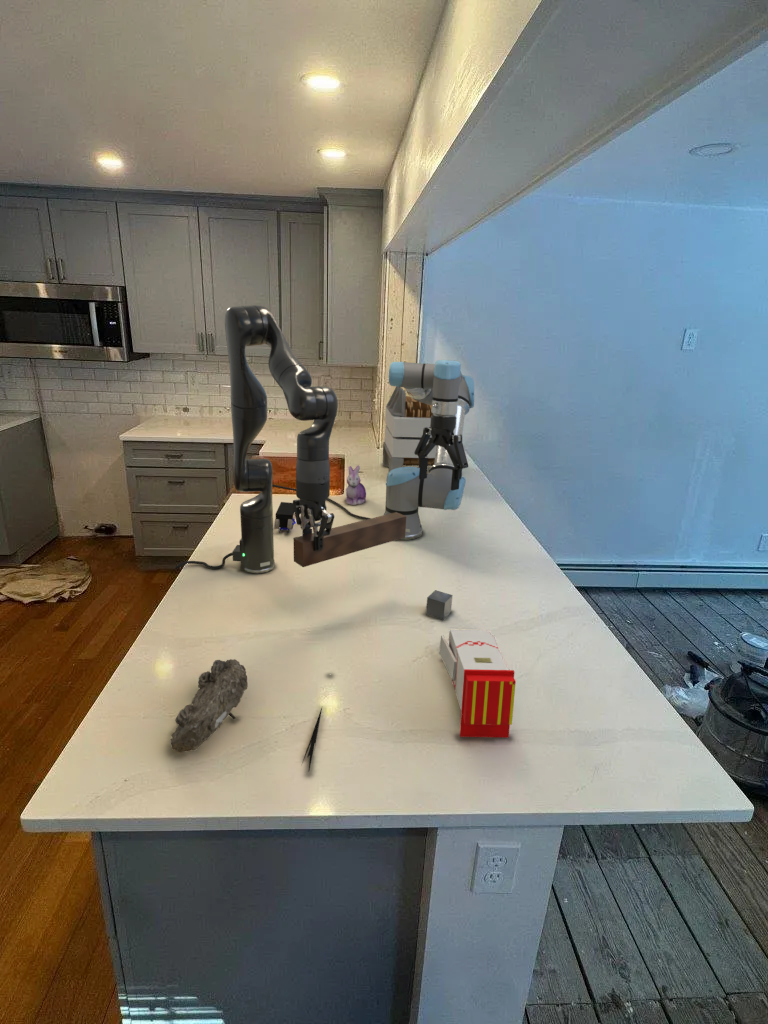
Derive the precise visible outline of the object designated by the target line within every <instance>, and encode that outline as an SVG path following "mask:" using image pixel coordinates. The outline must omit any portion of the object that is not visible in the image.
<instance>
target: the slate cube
mask: <svg viewBox="0 0 768 1024" xmlns="http://www.w3.org/2000/svg"><path fill="white" fill-rule="evenodd" d="M452 605H453V594H449V593H447V592H443V591H440V590H437V589H436V590H434V591H433V592H431V593H430V594H429V595H428V596H427V597H426V609H425V615H427V616H430V617H432V618H435V619H439V620H442V621H443V620H445V619H446V618H447V617H448V615H450V613H452Z"/></svg>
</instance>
